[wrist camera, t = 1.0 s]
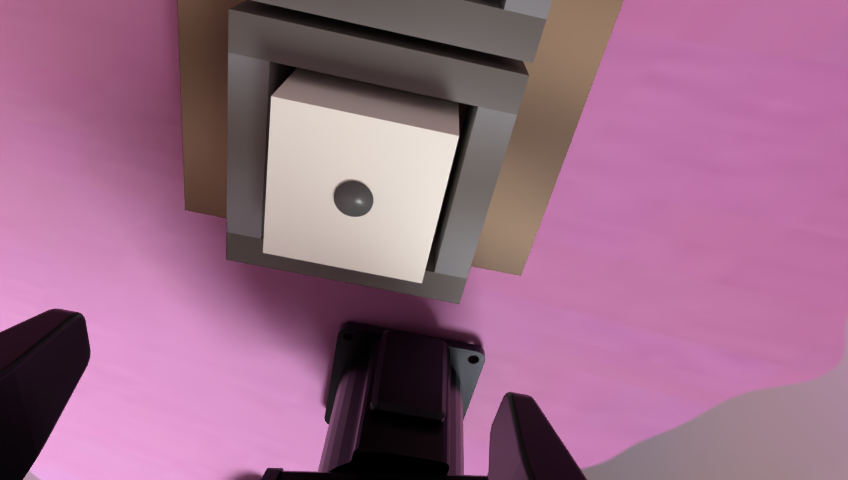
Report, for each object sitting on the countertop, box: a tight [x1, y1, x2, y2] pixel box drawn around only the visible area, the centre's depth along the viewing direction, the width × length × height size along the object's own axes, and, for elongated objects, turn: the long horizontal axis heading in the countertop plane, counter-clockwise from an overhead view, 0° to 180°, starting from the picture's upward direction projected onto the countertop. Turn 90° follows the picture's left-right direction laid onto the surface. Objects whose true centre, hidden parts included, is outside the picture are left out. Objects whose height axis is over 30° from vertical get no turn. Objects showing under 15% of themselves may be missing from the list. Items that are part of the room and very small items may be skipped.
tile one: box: [263, 68, 459, 283], centre depth 15 cm, size 4×4×2 cm
